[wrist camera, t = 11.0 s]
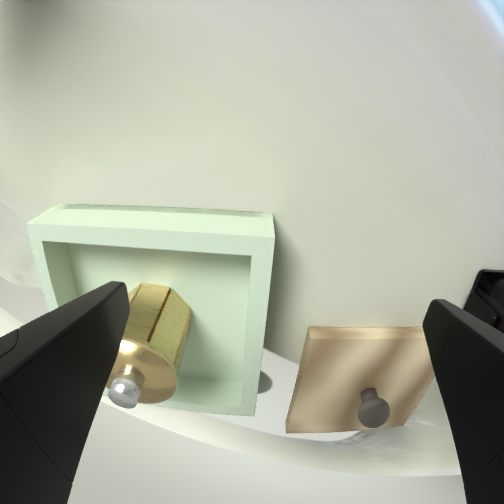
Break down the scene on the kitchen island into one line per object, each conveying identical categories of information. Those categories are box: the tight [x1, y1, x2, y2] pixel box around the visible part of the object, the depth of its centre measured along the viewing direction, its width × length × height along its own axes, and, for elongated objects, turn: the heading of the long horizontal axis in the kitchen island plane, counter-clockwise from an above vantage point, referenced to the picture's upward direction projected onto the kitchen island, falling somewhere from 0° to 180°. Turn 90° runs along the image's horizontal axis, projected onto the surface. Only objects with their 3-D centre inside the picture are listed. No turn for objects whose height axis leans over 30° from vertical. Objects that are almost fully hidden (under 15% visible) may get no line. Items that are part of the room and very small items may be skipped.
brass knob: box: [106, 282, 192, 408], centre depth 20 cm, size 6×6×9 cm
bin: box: [26, 204, 275, 416], centre depth 23 cm, size 16×16×4 cm
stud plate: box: [286, 327, 435, 433], centre depth 26 cm, size 14×14×6 cm
